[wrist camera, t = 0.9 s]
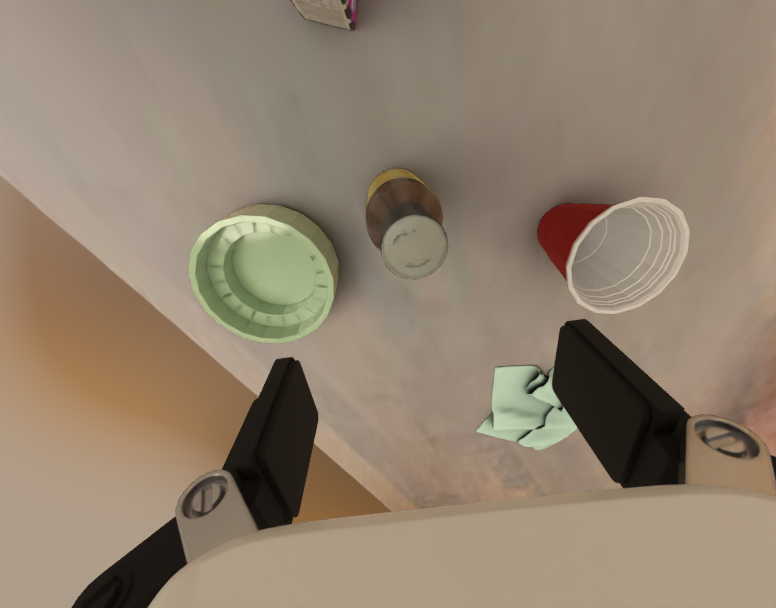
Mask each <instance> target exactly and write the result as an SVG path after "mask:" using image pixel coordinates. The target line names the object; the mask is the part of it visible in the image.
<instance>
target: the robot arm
mask: <svg viewBox="0 0 776 608" xmlns="http://www.w3.org/2000/svg"><path fill="white" fill-rule="evenodd" d="M552 388H553V391H554V393H555V395H556V396H557V398H558V399H559V401H560V402H561V404H562V405H563V407H564V408H565V410H566V411H567V413H568V414H569V416H570V417H571V419H572V420H573V422H574V423H575V425H576V426H577V428H578V429H579V431H580V432H581V434H582V435H583V437H584V438H585V440H586V441H587V443H588V444H589V446H590V447H591V449H592V450H593V452H594V453H595V455H596V456H597V458H598V459H599V461H600V462H601V464H602V465H603V467H604V468H605V470H606V471H607V473H608V474H609V476H610V477H611V478H612V480H613V481H614V482H616V483H620V484H621V486H622V487H623V488H621V489H609V490H598V491H588V492H578V493H568V494H558V495H548V496H538V497H528V498H518V499H509V500H499V501H489V502H480V503H470V504H461V505H452V506H442V507H433V508H423V509H414V510H405V511H396V512H387V513H379V514H369V515H361V516H351V517H343V518H335V519H327V520H320V521H312V522H304V523H296V524H292V520H293V517H297V516H298V514H299V510H300V505H301V501H302V496H303V491H304V486H305V482H306V477H307V472H308V467H309V462H310V458H311V453H312V448H313V443H314V439H315V434H316V429H317V424H318V412H317V409H316V406H315V403H314V400H313V397H312V395H311V392H310V389H309V386H308V383H307V381H306V378H305V375H304V372H303V370H302V367H301V364H300V362H299V361H298V360H297V361H295V360H294V358H293V357H289V358H281V359H276V360H275V362H274V364H273V366H272V369H271V371H270V373H269V375H268V378H267V380H266V382H265V384H264V386H263V389H262V391H261V393H260V395H259V398H257V399H256V400H254V402H253V403H252V405H251V408H250V410H249V412H248V414H247V416H246V418H245V421H244V423H243V425H242V427H241V429H240V432H239V434H238V436H237V438H236V440H235V442H234V444H233V447H232V449H231V451H230V453H229V455H228V457H227V460H226V462H225V464H224V466H223V468H222V470H214V471H212V472H208V473H206V474H204V475H202V476H201V477H199V478H198V479H196V480H195V481H194V482H192V483H191V484H190V485H189V487H188V488H187V489H186V490H185V491H184V492H183V494H182V495H181V497H180V499H179V500H178V503H177V506H176V517H174V518H173V519H172V520H170V521H169V522H168V523H166V524H165V525H164V526H163V527H161V528H160V529H159V530H157V531H156V532H155V533H153V534H152V535H151V536H150V537H148V538H147V539H146V540H144V541H143V542H142V543H141V544H139V545H138V546H137V547H135V548H134V549H133V550H132V551H130V552H129V553H128V554H126V555H125V556H124V557H123V558H121V559H120V560H119V561H117V562H116V563H115V564H114V565H112V566H111V567H110V568H108V569H107V570H106V571H104V572H103V573H102V574H101V575H99V576H98V577H97V578H96V579H95V580H94V581H93V582H92V583H90V584H89V585H88V586H87V588H86V589H85V590H84V591H83V592H82V593H81V595H80V596H79V597H78V598H77V600H76V601H75V603H74V605H73V606H72V608H776V457H775V456H772V455H770V452H769V450H768V448H767V445H766V444H765V443H764V442H763V441H762V439H761V438H760V437H759V436H758V435H756V434H755V433H753V432H752V431H751V430H749V429H748V428H746V427H744V426H742V425H741V424H739V423H737V422H734V421H732V420H729V419H726V418H724V417H719V416H715V415H706V414H700V415H695V416H693V417H691V416H690V415H689V414H687V413H686V412H685V411H684V408H683V407H682V406H681V405H680V404H679V403H678V402H677V401H675V400H674V399H673V398H672V397H671V396H670V395H669V394H668V393H667V392H666V391H664V390H663V389H662V388H661V387H660V386H659V385H658V384H657V383H656V382H655V381H654V380H652V379H651V378H650V377H649V376H648V375H647V374H646V373H645V372H644V371H643V370H641V369H640V368H639V367H638V366H637V365H636V364H635V363H634V362H633V361H632V360H630V359H629V358H628V357H627V356H626V355H625V354H624V353H623V352H622V351H621V350H619V349H618V348H617V347H616V346H615V345H614V344H613V343H612V342H611V341H610V340H609V339H607V338H606V337H605V336H604V335H603V334H602V333H601V332H600V331H599V330H598V329H596V328H595V327H594V326H593V325H592V324H591V323H590V322H589V321H587V320H586V319H580V320H573V321H567V322H566V323H565V325H564V326H562V327H561V328H560V332H559V339H558V345H557V352H556V359H555V365H554V372H553V378H552Z"/></svg>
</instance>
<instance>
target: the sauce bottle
mask: <svg viewBox="0 0 776 608" xmlns="http://www.w3.org/2000/svg"><path fill="white" fill-rule="evenodd" d="M442 220H443V216H442V209H441V205H440V203H439V201H438V199H437V197H436V195H435V194H434V193H433V191H432V190H431V189H430V188H429V187H428V186H426V185H425V184H424V183H423V182H422V181H421V180H420V179H418V178H417V177H416V176H415V175H414V174H412V173H411V172H409V171H407V170H404V169H389V170H387V171H384V172H382V173H380V174H379V175H378V176H377V177H376V178H375V179H374V181H373V182H372V184H371V186H370V188H369V192H368V197H367V206H366V224H367V230H368V233H369V236H370V238H371V240H372V242H373V243H374V245H375V246H376V247H377V248H378V249H380V250H381V254H382V258H383V260H384V262H385V264H386V266H387V267H388V268H389V269H390V270H391V271H392V272H393V273H394V274H396V275H398V276H400V277H401V278H405V279H414V280H416V279H420V278H424V277H426V276H429V275H431V274H432V273H433V272H435V271H436V270H437V269H438V268H439V267H440V266H441V264H442V263H443V261H444V260H445V258H446V255H447V251H448V240H447V236H446V233H445V231H444V228H443V227H442Z"/></svg>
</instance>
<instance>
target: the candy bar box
mask: <svg viewBox="0 0 776 608" xmlns="http://www.w3.org/2000/svg"><path fill="white" fill-rule="evenodd" d="M291 2H292V3H293V5H294V6H295V7H296V9H297V10H298V11H299V13H300V14H301V15H302V17H303V18H304V19H306V20H310V21H314V22H320V23H325V24H329V25H333V26H337V27H341V28H345V29H348V30H354V29H355V20H356V8H357V0H291Z"/></svg>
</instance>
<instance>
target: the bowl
mask: <svg viewBox="0 0 776 608" xmlns="http://www.w3.org/2000/svg"><path fill="white" fill-rule="evenodd" d="M188 273H189V277H190V281H191V284H192V288H193V292H194V294H195V296H196V297H197V299H198V300H199V302H200V304H201V305H202V307H203V308H204V310H205V311H206V312H207V313H208V314H209V315H210V316H211V317H212V318H213V319H214V320H215V321H217V322H218V323H219V324H220V325H221V326H222V327H224V328H226V329H228V330H229V331H231V332H233V333H235V334H237V335H239V336H240V337H243V338H247V339H251V340H254V341H258V342H262V343H285V342H289V341H294V340H298V339H301V338H303V337H304V336H306V335H308V334H310V333H311V332H313V331H315V330H316V329H317V328H318V327H319V326H320V325H321V323H322V322H323V321H324V320H325V319H326V318H327V316H328V314H329V311H330V309H331V306H332V303H333V300H334V296H335V293H336V289H337V285H338V281H339V262H338V259H337V256H336V253H335V251H334V248H333V245H332V243H331V242H330V240H329V239H328V238H327V236H326V235H325V234H324V233H323V231H322V230H321V229H320V227H319V226H318V225H316V224H315V223H314V222H312V221H311V220H309V219H308V218H307V217H305V216H304V215H303V214H301V213H299V212H296V211H293V210H291V209H288V208H285V207H283V206H280V205H265V204H256V205H253V206H249V207H246V208H242V209H239V210H237V211H235V212H233V213H231V214H230V215H228V216H226V217H224V218H223V219H221V220H219V221H217V222H216V223H215V224H213V225H212V226H211V227H209V228H208V229H207V230H206V231H204V232H203V233H202V234H201V235H200V236H199V238H198V240H197V241H196V243H195V245H194V247H193V249H192V250H191V253H190V262H189V272H188Z"/></svg>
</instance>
